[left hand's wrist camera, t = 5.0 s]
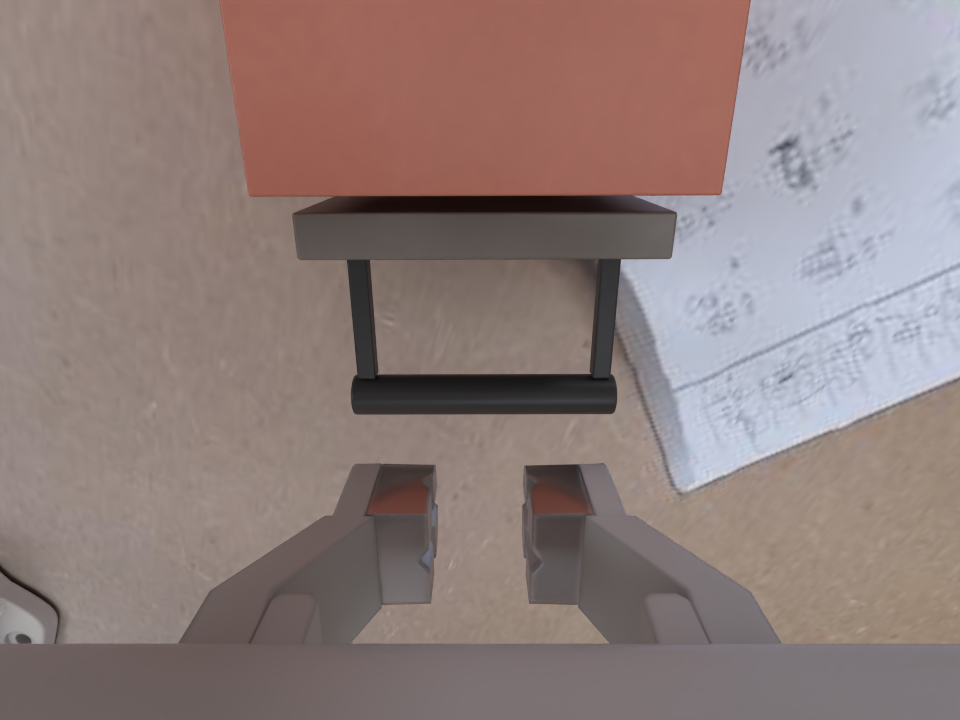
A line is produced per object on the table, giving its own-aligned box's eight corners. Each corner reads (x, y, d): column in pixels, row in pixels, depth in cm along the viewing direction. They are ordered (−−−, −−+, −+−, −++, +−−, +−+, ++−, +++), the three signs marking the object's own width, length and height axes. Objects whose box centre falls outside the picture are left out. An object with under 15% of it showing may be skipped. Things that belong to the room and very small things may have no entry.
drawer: (591, 350, 25) (647, 457, 17) (374, 350, 25) (321, 457, 17) (644, -336, 17) (805, -805, 8) (321, -335, 17) (164, -802, 8)
